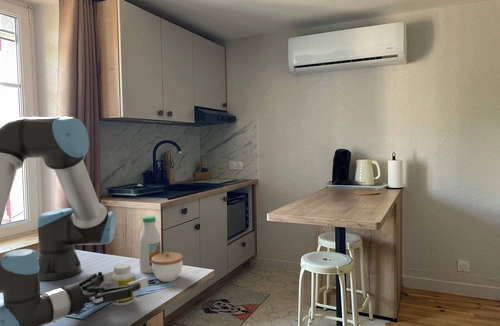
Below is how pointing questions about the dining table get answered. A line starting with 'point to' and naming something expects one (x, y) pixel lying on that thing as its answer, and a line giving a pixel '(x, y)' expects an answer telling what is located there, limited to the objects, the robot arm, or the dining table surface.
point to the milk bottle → (148, 244)
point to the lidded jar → (167, 266)
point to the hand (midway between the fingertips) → (134, 276)
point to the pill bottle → (122, 281)
